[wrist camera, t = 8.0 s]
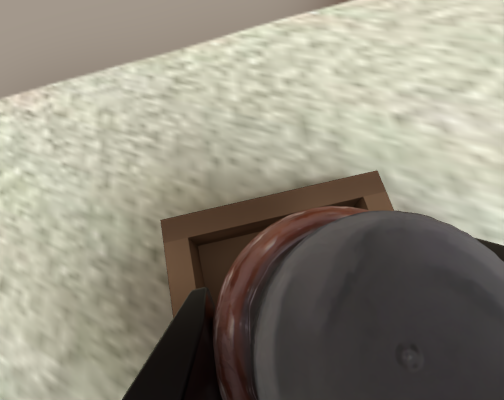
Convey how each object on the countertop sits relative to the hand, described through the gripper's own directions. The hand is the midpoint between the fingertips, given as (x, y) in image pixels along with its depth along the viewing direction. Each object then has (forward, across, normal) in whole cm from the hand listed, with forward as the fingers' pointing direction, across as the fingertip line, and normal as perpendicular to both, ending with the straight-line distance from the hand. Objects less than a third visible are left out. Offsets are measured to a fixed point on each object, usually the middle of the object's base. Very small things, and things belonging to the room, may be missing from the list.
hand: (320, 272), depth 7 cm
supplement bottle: (+5, 0, +6) cm, 8 cm away
